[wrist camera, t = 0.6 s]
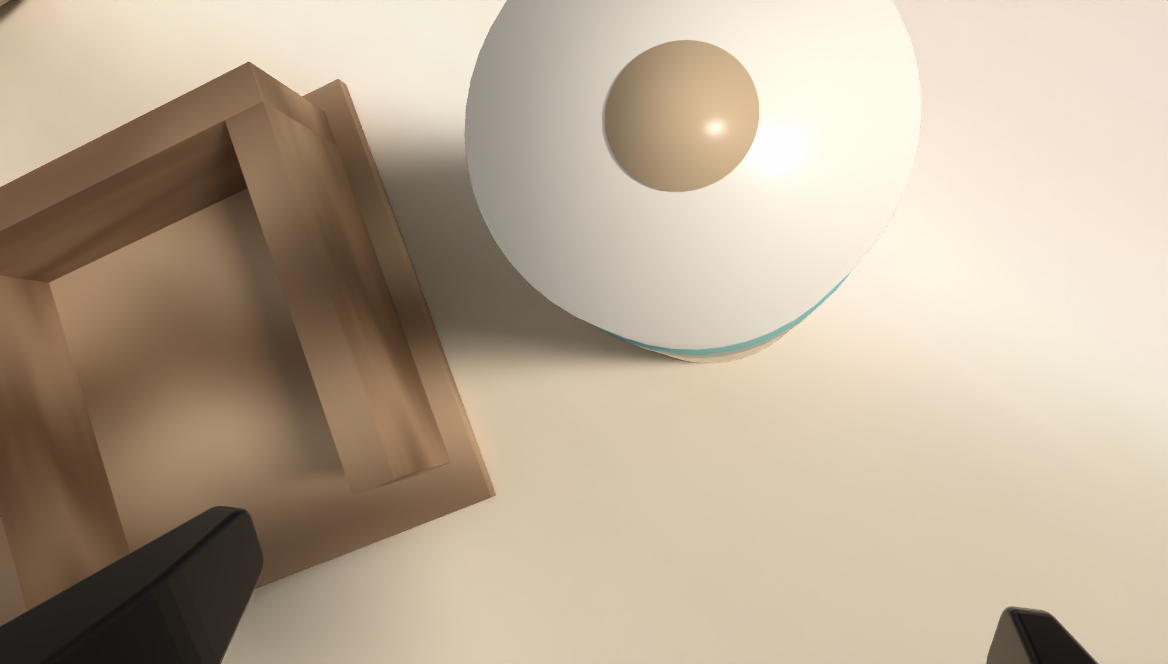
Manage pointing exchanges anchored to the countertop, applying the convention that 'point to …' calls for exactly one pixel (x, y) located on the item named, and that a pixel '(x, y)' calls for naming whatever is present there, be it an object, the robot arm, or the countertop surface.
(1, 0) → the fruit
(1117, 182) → the countertop surface
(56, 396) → the holder
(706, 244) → the white bottle
